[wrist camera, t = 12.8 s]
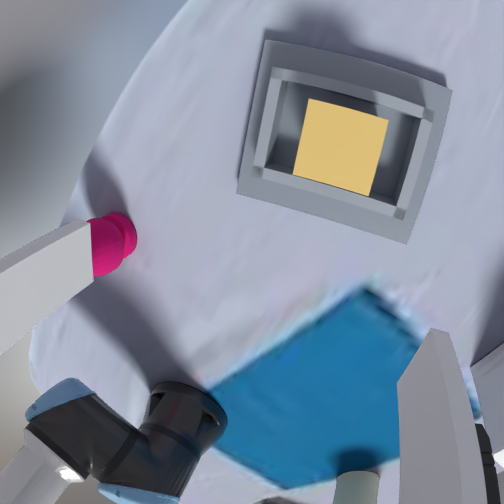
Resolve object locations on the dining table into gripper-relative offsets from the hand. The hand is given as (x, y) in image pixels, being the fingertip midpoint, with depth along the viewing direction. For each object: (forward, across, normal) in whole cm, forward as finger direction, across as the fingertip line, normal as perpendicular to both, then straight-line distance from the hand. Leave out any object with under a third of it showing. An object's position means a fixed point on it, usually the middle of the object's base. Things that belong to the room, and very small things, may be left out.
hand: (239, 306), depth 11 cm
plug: (+21, -2, -5) cm, 22 cm away
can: (+24, -27, +53) cm, 64 cm away
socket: (+23, -2, -5) cm, 24 cm away
